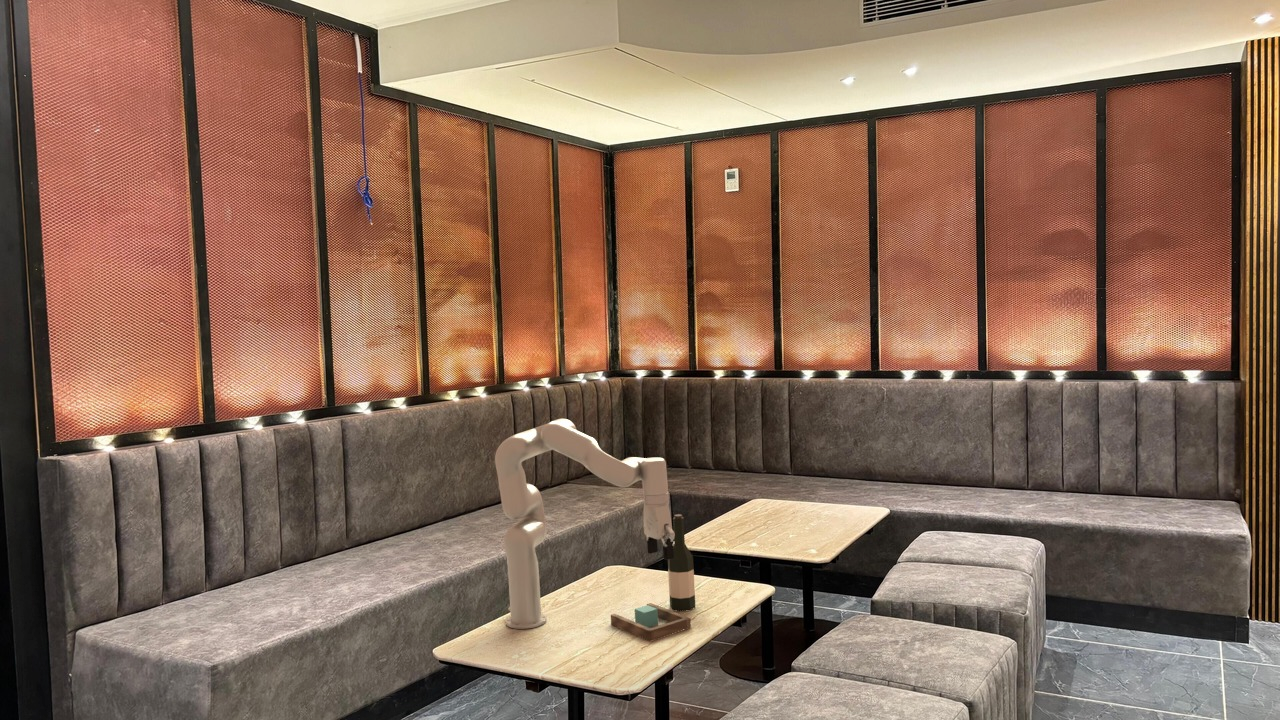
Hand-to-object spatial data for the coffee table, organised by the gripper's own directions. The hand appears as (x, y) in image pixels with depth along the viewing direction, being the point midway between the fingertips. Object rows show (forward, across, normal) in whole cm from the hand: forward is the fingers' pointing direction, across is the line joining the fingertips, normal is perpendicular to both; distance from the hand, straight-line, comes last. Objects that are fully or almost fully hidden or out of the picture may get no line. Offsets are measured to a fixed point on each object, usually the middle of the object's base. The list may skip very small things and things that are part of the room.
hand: (660, 555), depth 262 cm
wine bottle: (+23, -14, +14) cm, 30 cm away
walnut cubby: (+22, -6, -3) cm, 23 cm away
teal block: (+22, -7, -3) cm, 24 cm away
